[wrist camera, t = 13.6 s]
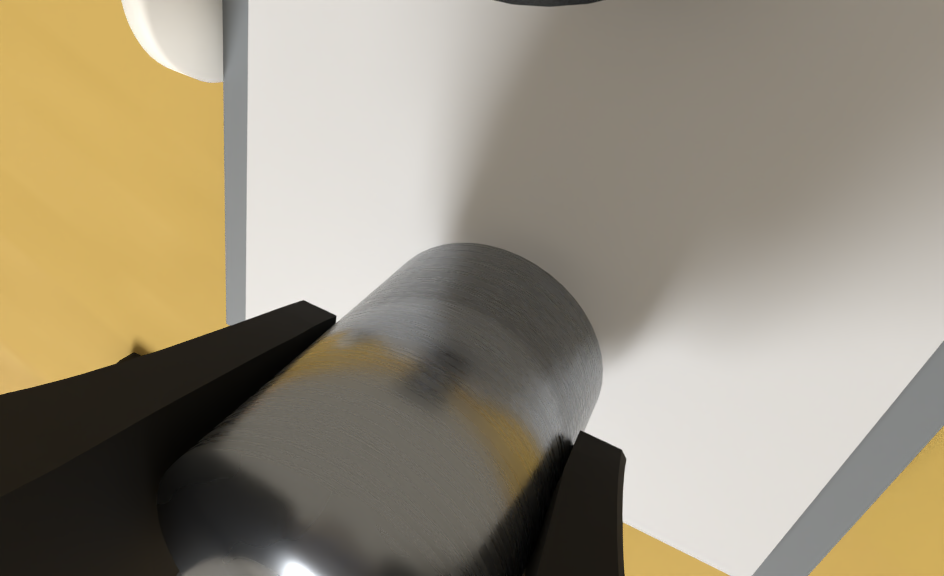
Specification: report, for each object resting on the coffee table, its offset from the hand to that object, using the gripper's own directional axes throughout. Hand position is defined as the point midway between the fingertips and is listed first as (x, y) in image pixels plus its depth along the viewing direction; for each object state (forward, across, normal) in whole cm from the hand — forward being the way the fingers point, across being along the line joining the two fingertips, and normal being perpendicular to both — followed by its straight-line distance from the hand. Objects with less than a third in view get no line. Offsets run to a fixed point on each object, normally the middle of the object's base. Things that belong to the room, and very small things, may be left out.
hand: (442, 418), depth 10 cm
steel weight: (+2, 0, 0) cm, 2 cm away
